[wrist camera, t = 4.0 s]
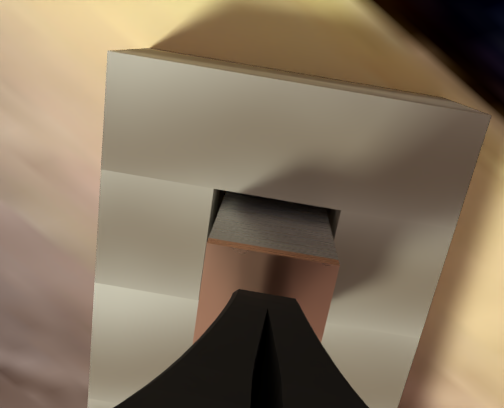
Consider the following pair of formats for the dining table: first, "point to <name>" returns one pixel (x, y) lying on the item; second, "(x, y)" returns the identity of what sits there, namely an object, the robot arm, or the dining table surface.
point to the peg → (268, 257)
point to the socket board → (276, 187)
